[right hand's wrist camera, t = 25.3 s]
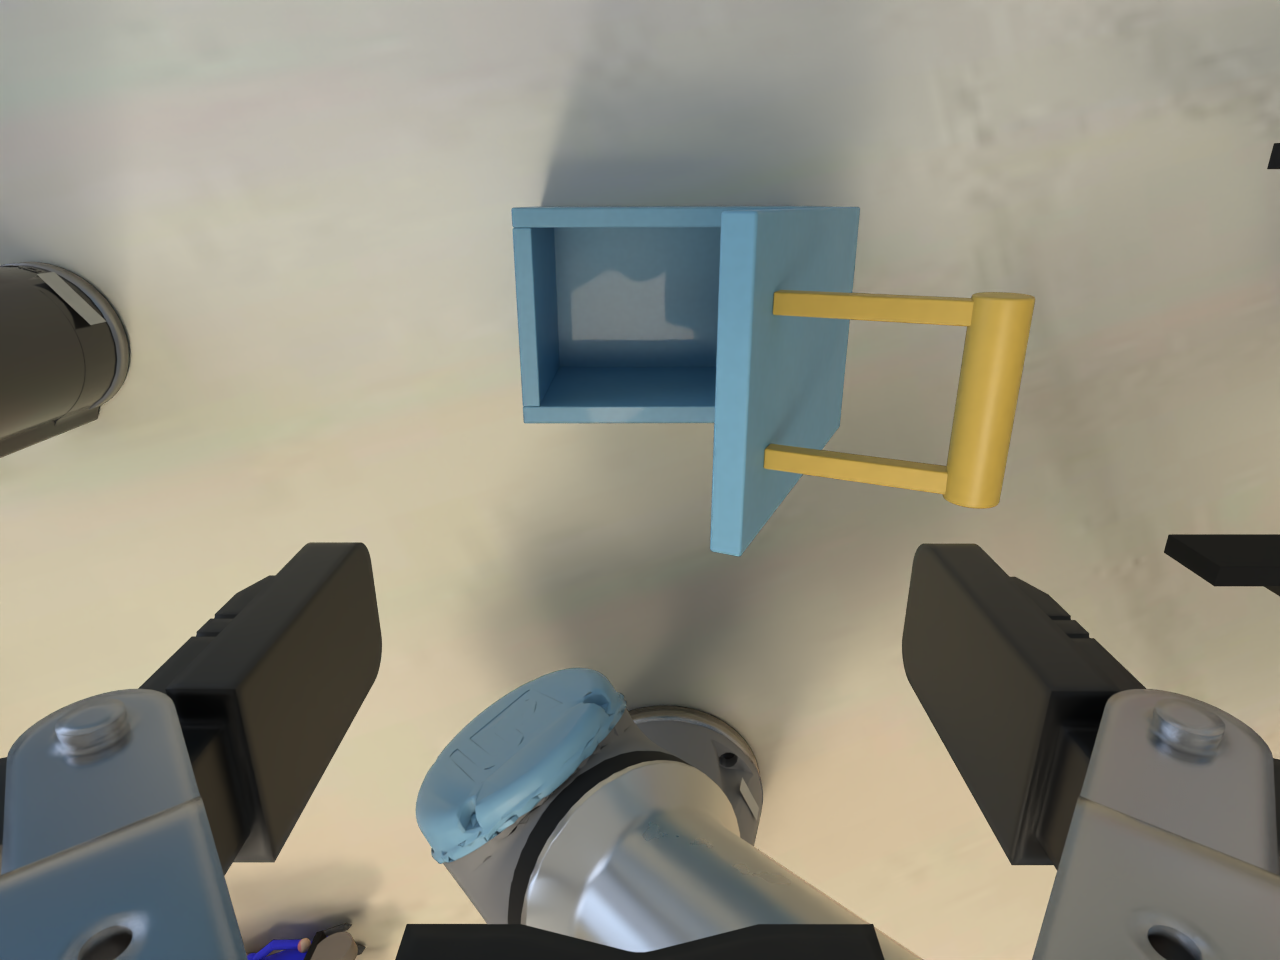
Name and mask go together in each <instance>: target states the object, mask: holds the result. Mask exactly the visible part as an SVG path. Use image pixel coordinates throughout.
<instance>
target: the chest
mask: <svg viewBox="0 0 1280 960" xmlns="http://www.w3.org/2000/svg"><path fill="white" fill-rule="evenodd" d="M823 207H825V206H562V207H519V208H512V226H513V227H514V228H513V244H514V261H515V278H516V295H517V313H518V330H519V347H520V364H521V381H522V398H523V416H524V423H714V419H715V389H716V359H717V329H718V299H719V269H720V239H721V214H722V212H723V211H730V210H761V209H792V208H823Z"/></svg>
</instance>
